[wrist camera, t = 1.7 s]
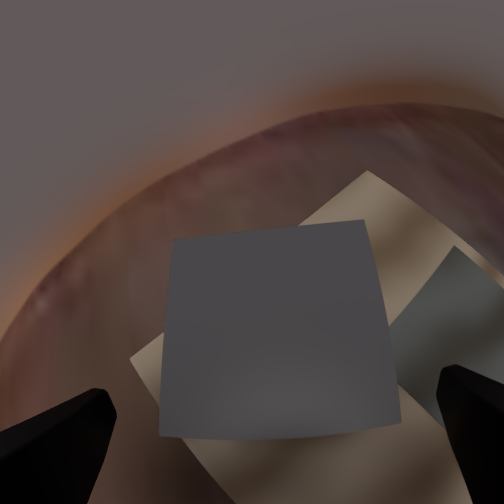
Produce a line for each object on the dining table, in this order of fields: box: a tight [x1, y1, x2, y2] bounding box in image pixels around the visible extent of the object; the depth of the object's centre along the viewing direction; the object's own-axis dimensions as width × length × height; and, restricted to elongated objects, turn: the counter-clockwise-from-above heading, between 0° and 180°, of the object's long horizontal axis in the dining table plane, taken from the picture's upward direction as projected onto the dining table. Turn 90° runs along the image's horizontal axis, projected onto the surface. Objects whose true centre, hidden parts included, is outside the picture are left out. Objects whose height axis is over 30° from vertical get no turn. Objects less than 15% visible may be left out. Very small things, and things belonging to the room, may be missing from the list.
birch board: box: [130, 171, 504, 504], centre depth 16 cm, size 22×22×1 cm
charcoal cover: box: [159, 219, 402, 440], centre depth 13 cm, size 7×7×9 cm
